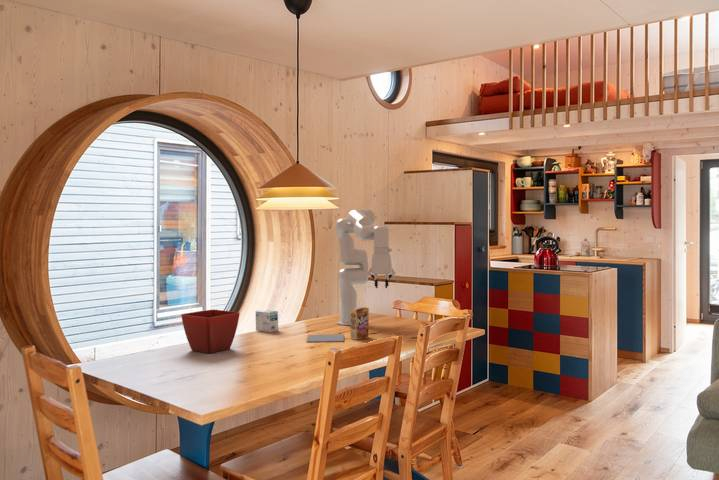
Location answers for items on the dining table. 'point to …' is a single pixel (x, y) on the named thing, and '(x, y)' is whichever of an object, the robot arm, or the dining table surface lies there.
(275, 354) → the dining table surface
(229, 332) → the plant pot
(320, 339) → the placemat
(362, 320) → the candy box
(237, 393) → the dining table surface
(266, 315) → the light bulb box
